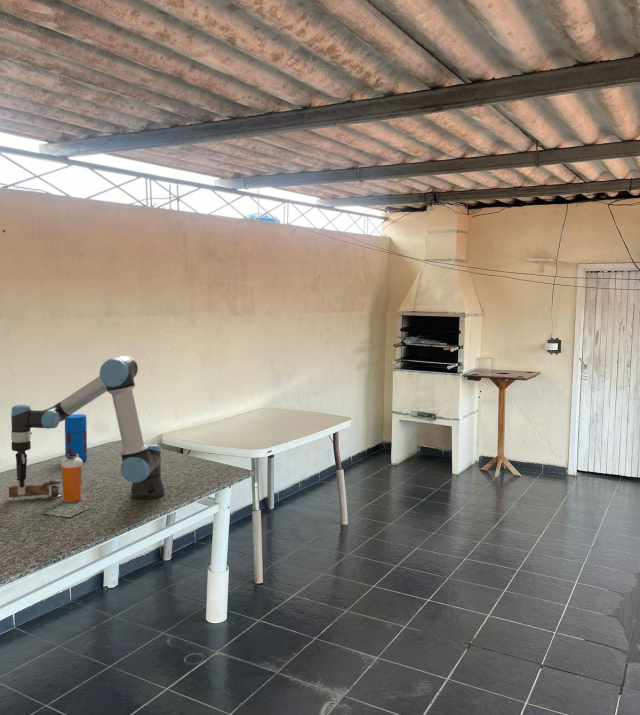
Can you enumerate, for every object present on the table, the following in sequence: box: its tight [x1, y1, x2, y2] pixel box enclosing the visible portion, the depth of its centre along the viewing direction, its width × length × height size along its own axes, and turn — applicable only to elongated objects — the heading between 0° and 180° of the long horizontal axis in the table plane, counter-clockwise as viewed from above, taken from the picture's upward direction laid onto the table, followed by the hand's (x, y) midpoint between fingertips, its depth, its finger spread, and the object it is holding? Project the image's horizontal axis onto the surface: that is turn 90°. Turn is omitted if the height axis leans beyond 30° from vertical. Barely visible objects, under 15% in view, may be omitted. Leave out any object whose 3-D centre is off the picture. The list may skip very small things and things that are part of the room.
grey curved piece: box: [47, 484, 63, 500], centre depth 284 cm, size 6×6×5 cm
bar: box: [8, 478, 62, 498], centre depth 281 cm, size 21×5×6 cm, turn 109°
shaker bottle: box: [60, 454, 84, 503], centre depth 279 cm, size 9×9×20 cm
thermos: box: [64, 413, 88, 464], centre depth 343 cm, size 11×11×25 cm
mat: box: [55, 502, 86, 508], centre depth 266 cm, size 13×13×1 cm
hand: (21, 494), depth 278 cm, fingers closed
